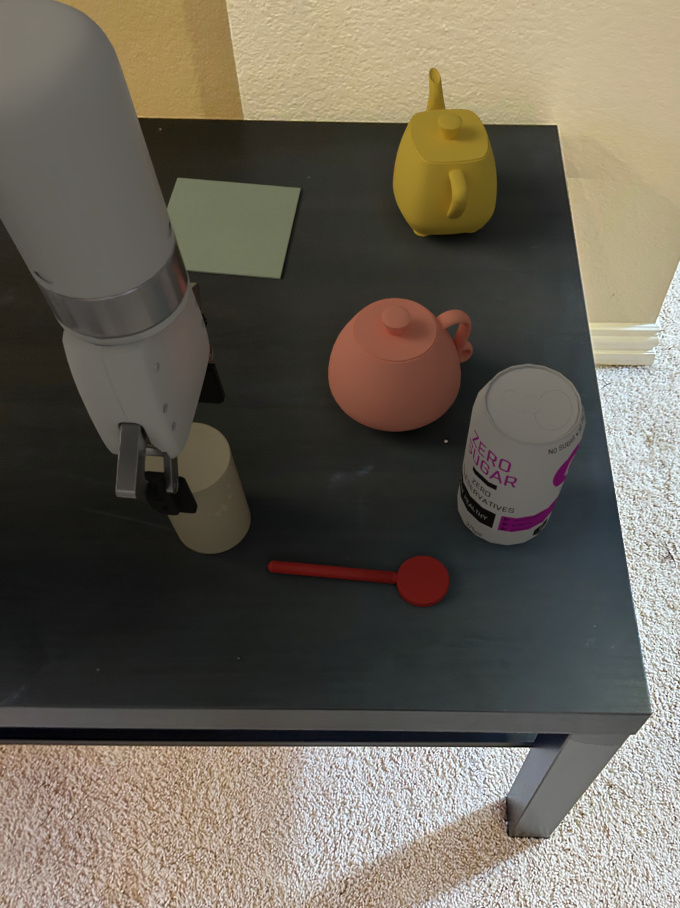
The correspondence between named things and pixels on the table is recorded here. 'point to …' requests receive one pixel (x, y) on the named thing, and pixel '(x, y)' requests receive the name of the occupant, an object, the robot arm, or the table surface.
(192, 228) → the mat
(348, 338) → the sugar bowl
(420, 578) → the spoon
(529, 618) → the table surface
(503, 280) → the table surface
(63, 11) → the robot arm
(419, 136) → the teapot
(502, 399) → the supplement can
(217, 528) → the beige cylinder
